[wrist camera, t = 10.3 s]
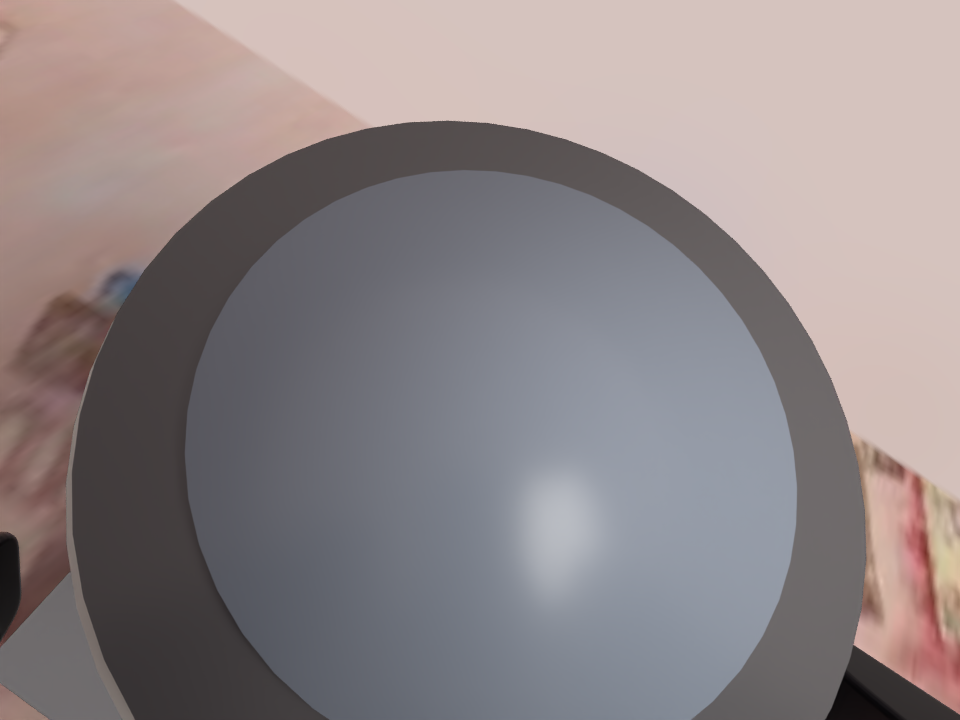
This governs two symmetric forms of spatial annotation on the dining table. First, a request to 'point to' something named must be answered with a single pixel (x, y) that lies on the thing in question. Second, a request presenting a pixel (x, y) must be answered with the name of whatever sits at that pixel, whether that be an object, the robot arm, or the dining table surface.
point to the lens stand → (56, 662)
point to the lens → (462, 453)
